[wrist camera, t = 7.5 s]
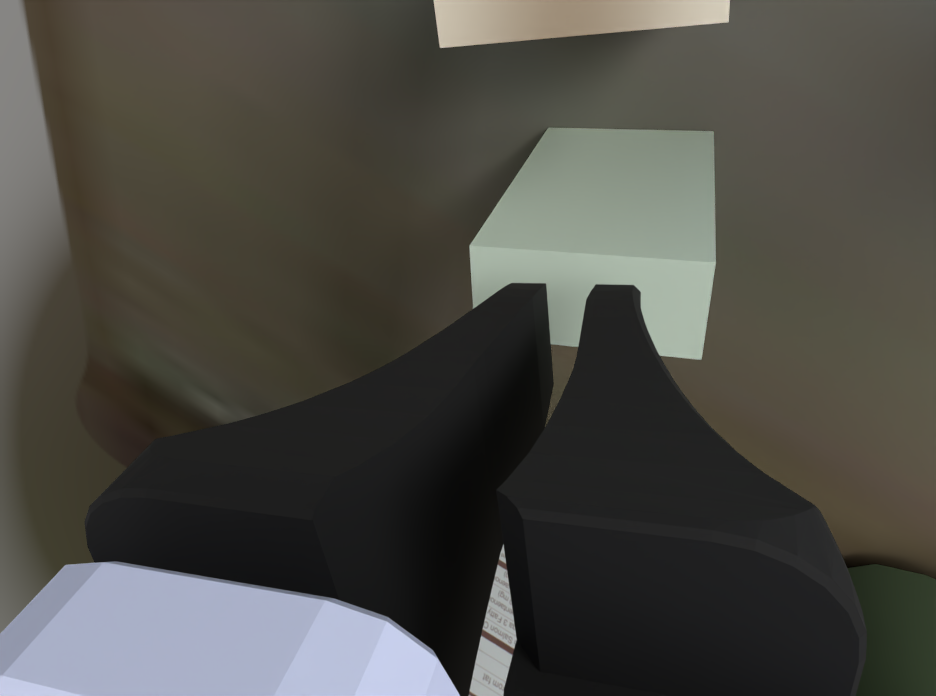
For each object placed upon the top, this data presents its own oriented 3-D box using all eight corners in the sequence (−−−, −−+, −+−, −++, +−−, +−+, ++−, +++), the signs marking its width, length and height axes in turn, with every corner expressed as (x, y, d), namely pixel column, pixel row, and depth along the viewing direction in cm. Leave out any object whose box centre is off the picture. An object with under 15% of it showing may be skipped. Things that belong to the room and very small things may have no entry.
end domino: (713, 131, 18) (715, 262, 12) (704, 203, 19) (701, 359, 13) (548, 127, 20) (469, 245, 13) (548, 196, 21) (474, 336, 14)
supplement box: (509, 592, 31) (411, 936, 21) (366, 504, 30) (195, 812, 20) (606, 504, 27) (542, 887, 16) (441, 400, 26) (271, 728, 16)
